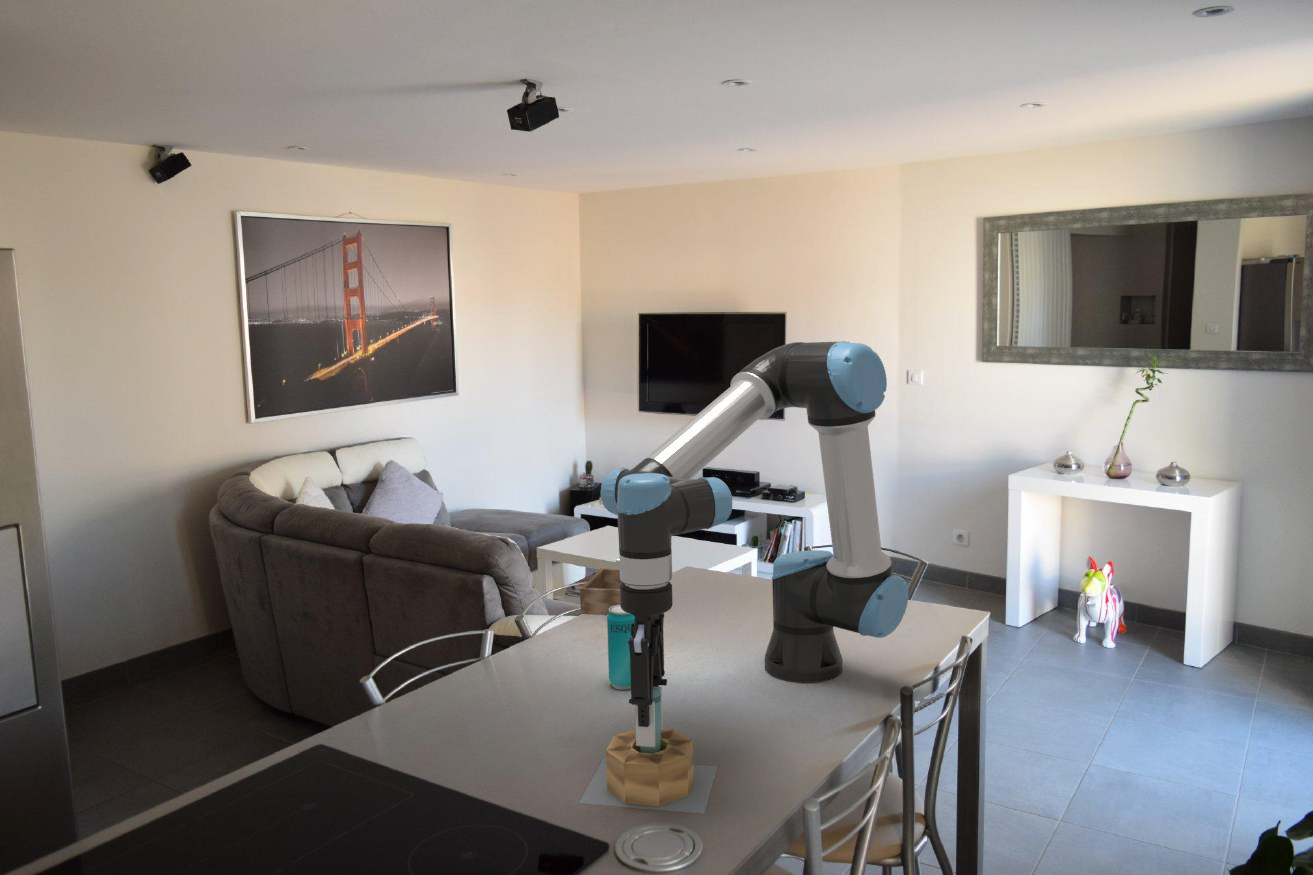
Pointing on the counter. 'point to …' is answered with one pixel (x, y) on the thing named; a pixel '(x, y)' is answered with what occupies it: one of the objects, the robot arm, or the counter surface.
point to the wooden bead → (650, 769)
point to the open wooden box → (601, 592)
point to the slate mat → (688, 804)
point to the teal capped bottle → (657, 725)
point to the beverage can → (619, 647)
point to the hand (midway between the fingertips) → (649, 736)
